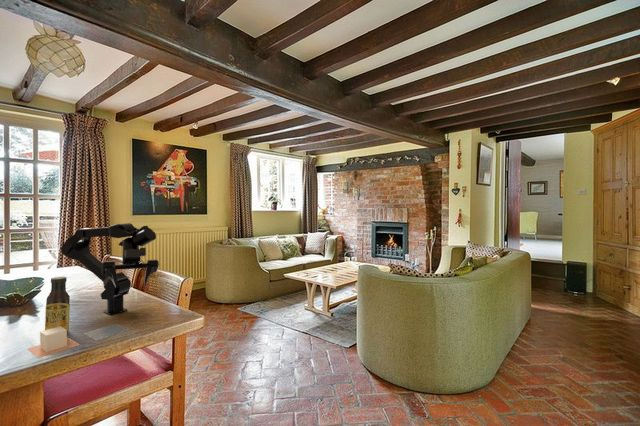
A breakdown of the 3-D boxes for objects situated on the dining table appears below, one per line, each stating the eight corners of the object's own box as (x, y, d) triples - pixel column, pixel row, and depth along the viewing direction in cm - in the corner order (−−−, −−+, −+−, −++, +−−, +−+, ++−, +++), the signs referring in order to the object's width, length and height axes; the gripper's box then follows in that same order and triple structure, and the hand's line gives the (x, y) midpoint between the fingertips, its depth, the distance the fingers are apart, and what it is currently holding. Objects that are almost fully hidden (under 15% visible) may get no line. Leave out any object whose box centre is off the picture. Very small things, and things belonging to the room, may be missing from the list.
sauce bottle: (42, 341, 100) (40, 280, 99) (48, 334, 105) (47, 276, 104) (67, 338, 103) (66, 278, 102) (72, 331, 108) (71, 274, 108)
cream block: (40, 347, 94) (40, 331, 94) (60, 341, 98) (60, 326, 98) (46, 352, 92) (45, 335, 91) (67, 345, 96) (66, 329, 96)
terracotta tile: (26, 350, 94) (26, 348, 94) (67, 338, 102) (67, 336, 102) (38, 360, 88) (38, 357, 88) (80, 346, 97) (80, 344, 97)
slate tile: (83, 335, 105) (83, 333, 105) (115, 325, 113) (115, 323, 113) (96, 342, 99) (96, 340, 99) (129, 331, 108) (129, 330, 108)
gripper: (103, 239, 114) (101, 277, 105) (160, 240, 125) (162, 274, 116) (102, 255, 121) (100, 292, 112) (155, 254, 131) (157, 288, 123)
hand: (131, 286), depth 116 cm, fingers open, 9 cm apart
